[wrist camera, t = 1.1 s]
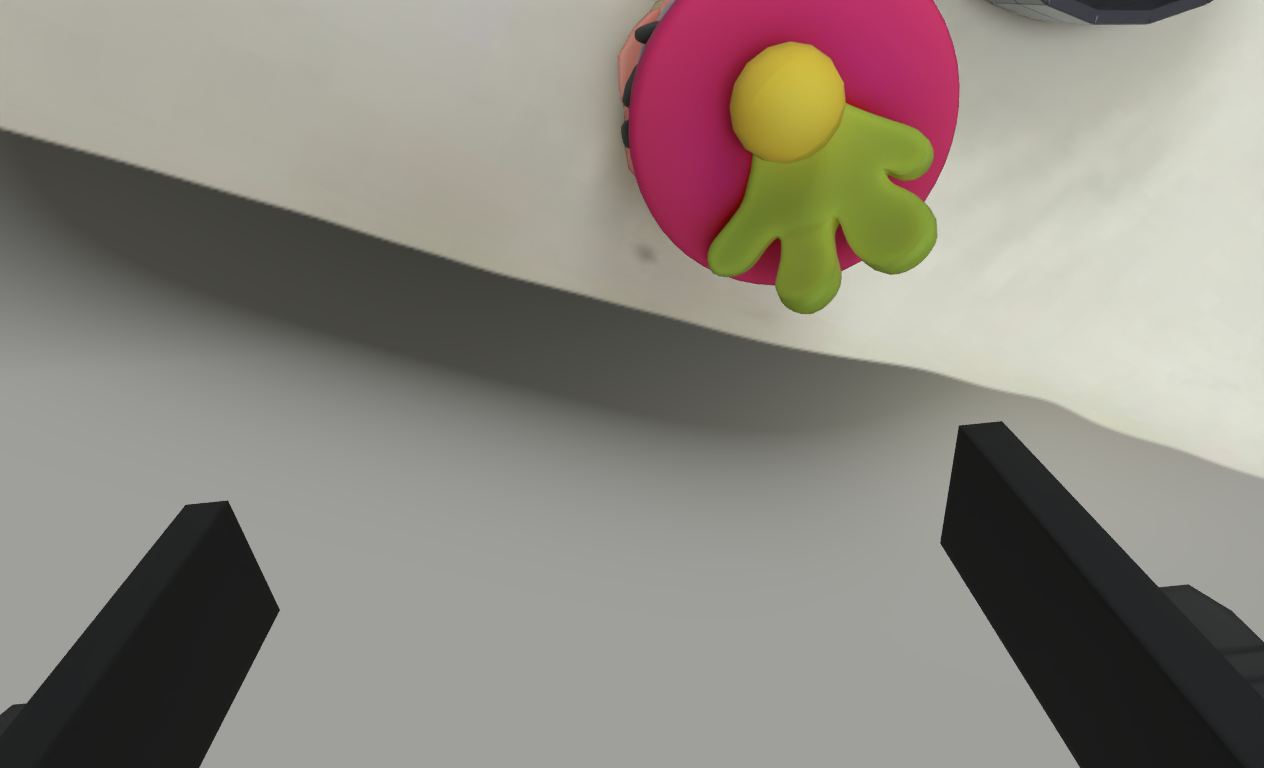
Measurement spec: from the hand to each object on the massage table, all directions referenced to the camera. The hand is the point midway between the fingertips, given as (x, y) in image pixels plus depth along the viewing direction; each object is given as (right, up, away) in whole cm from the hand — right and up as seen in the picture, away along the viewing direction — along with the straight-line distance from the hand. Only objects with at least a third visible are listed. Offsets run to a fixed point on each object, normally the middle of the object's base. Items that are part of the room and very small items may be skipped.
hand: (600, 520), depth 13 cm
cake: (+5, +16, +18) cm, 24 cm away
